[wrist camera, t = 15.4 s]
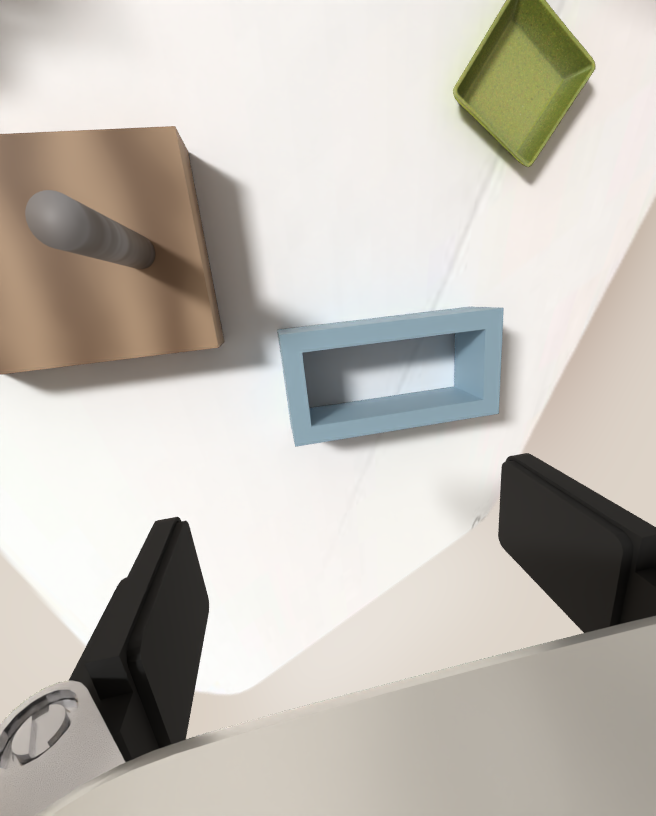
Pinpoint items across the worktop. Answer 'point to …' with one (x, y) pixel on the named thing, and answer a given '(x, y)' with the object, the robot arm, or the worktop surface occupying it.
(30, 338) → the stand
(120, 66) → the worktop surface
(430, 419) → the link frame
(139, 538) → the worktop surface
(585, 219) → the worktop surface
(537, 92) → the green square tray
